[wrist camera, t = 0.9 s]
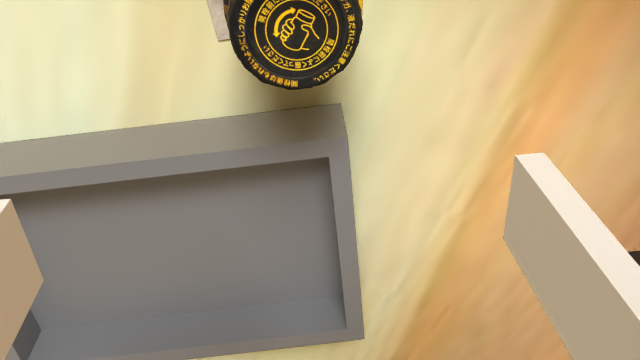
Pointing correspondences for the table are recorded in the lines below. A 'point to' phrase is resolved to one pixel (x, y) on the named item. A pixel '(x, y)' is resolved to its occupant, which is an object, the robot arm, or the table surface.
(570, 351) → the robot arm
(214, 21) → the condiment
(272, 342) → the tray
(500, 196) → the table surface
